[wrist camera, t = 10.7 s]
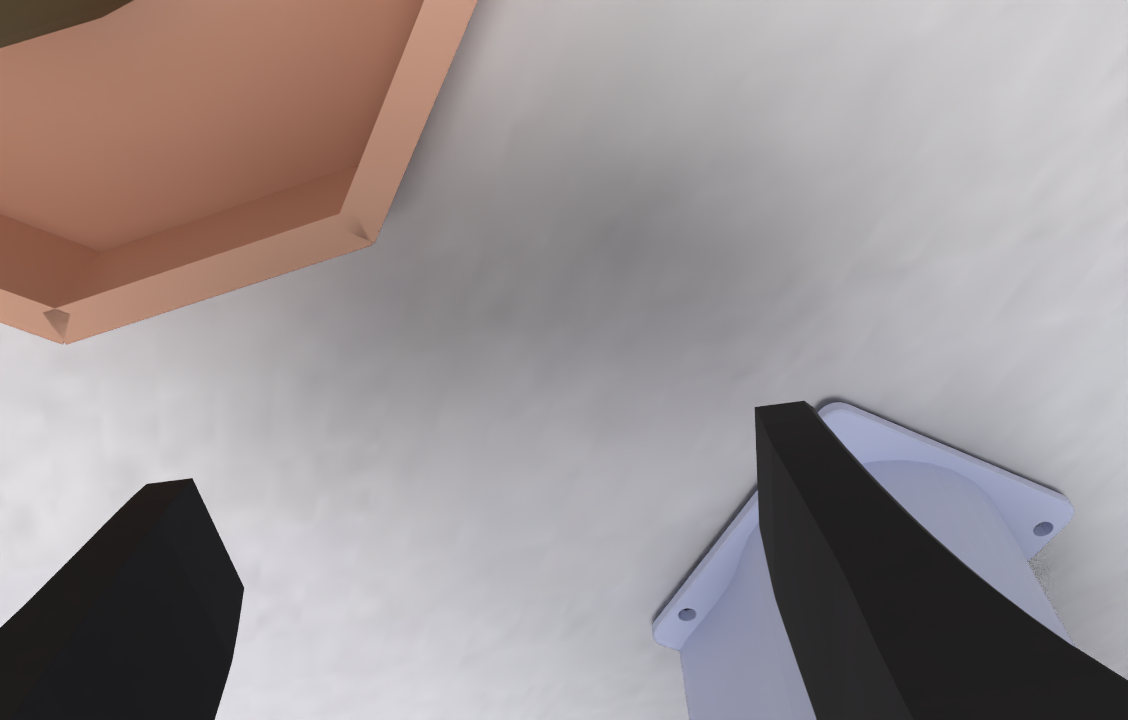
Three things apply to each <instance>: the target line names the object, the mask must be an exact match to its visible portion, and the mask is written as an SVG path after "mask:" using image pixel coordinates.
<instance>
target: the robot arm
mask: <svg viewBox="0 0 1128 720" xmlns="http://www.w3.org/2000/svg"><path fill="white" fill-rule="evenodd" d="M755 427H756V454H757V482H758V490H757V491H756V492H755V493H754V495H753V496H752V497H751V499H750V500H749V501H748V502H747V504H746V505H745V506H744V508H743V509H742V510H741V511H740V513H739V514H738V515H737V516H736V518H735V519H734V520H733V522H732V523H731V524H730V525H729V527H728V528H727V529H726V531H725V532H724V533H723V534H722V536H721V537H720V538H719V539H718V541H717V542H716V543H715V545H714V546H713V547H712V548H711V550H710V551H709V552H708V554H707V555H706V556H705V557H704V559H703V560H702V561H701V562H700V564H699V565H698V566H697V568H696V569H695V570H694V571H693V573H692V574H691V575H690V576H689V578H688V579H687V580H686V582H685V583H684V584H683V585H682V587H681V588H680V589H679V591H678V592H677V593H676V594H675V596H674V597H673V598H672V599H671V601H670V602H669V603H668V605H667V606H666V607H665V608H664V610H663V611H662V612H661V614H660V615H659V616H658V617H657V619H656V620H655V621H654V623H653V625H652V631H653V639H654V640H655V641H656V643H658V644H660V645H662V646H665V647H669V648H672V649H675V650H678V651H680V657H681V664H682V672H683V679H684V686H685V693H686V700H687V708H688V715H689V720H1128V680H1126V679H1125V678H1123V677H1122V676H1120V675H1119V674H1117V673H1115V672H1114V671H1112V670H1111V669H1109V668H1107V667H1106V666H1104V665H1103V664H1101V663H1100V662H1098V661H1096V660H1095V659H1093V658H1092V657H1090V656H1089V655H1087V654H1085V653H1084V652H1082V651H1081V650H1079V649H1078V648H1076V647H1075V645H1074V643H1073V641H1072V640H1071V638H1070V636H1069V634H1068V632H1067V631H1066V629H1065V627H1064V625H1063V624H1062V622H1061V620H1060V618H1059V616H1058V615H1057V613H1056V611H1055V609H1054V608H1053V606H1052V604H1051V602H1050V600H1049V599H1048V597H1047V595H1046V593H1045V592H1044V590H1043V588H1042V586H1041V584H1040V583H1039V581H1038V579H1037V577H1036V576H1035V574H1034V572H1033V570H1032V568H1031V567H1030V565H1029V563H1028V561H1029V560H1030V559H1031V558H1032V557H1033V556H1034V555H1035V554H1036V553H1037V552H1038V551H1039V550H1041V549H1042V548H1043V547H1044V546H1045V545H1046V544H1047V543H1048V542H1049V541H1050V540H1051V539H1052V538H1053V537H1054V536H1055V535H1056V534H1057V533H1058V532H1059V531H1060V530H1061V529H1062V528H1063V527H1064V526H1065V525H1066V524H1067V523H1069V521H1070V520H1071V519H1072V517H1073V516H1074V511H1075V510H1074V508H1073V505H1072V504H1071V502H1070V501H1069V499H1068V498H1067V497H1065V496H1064V495H1062V494H1060V493H1057V492H1055V491H1053V490H1050V489H1048V488H1045V487H1043V486H1041V485H1038V484H1036V483H1034V482H1031V481H1029V480H1027V479H1024V478H1022V477H1019V476H1017V475H1015V474H1012V473H1010V472H1008V471H1005V470H1003V469H1000V468H998V467H996V466H993V465H991V464H989V463H986V462H984V461H982V460H979V459H977V458H974V457H972V456H970V455H967V454H965V453H963V452H960V451H958V450H956V449H953V448H951V447H948V446H946V445H944V444H941V443H939V442H937V441H934V440H932V439H929V438H927V437H925V436H922V435H920V434H918V433H915V432H913V431H911V430H908V429H906V428H903V427H901V426H899V425H896V424H894V423H892V422H889V421H887V420H885V419H882V418H880V417H877V416H875V415H873V414H870V413H868V412H866V411H863V410H861V409H858V408H856V407H854V406H851V405H849V404H846V403H842V402H836V403H831V404H828V405H826V406H824V407H823V408H822V409H821V410H820V411H819V412H818V413H817V412H816V411H815V409H814V408H813V407H812V406H810V405H809V404H808V403H806V402H805V401H800V402H792V403H784V404H776V405H768V406H760V407H755ZM1042 522H1044V523H1043V524H1041V525H1038V524H1039V523H1042ZM1036 525H1038V526H1036ZM243 592H244V587H243V584H242V582H241V580H240V578H239V576H238V574H237V572H236V570H235V568H234V565H233V563H232V561H231V559H230V557H229V555H228V553H227V551H226V549H225V546H224V544H223V542H222V540H221V538H220V536H219V534H218V532H217V530H216V527H215V525H214V523H213V521H212V519H211V517H210V515H209V513H208V511H207V508H206V506H205V504H204V502H203V500H202V498H201V496H200V494H199V492H198V489H197V487H196V485H195V483H194V481H193V479H192V478H191V479H183V480H175V481H167V482H159V483H151V484H146V485H145V486H144V487H143V488H142V489H141V490H140V491H138V492H137V493H136V494H135V495H134V496H133V497H132V498H131V499H130V500H129V501H128V502H127V503H126V504H125V505H124V506H123V507H122V508H120V509H119V510H118V511H117V512H116V513H115V514H114V515H113V516H112V517H111V518H110V519H109V520H108V521H107V522H106V523H105V524H104V525H103V526H102V527H101V529H100V530H99V531H98V532H97V533H96V534H95V535H94V536H93V537H92V538H91V539H90V540H89V541H88V542H87V543H86V544H85V545H84V546H83V547H82V548H81V549H80V550H79V551H78V552H77V553H76V554H75V555H74V556H73V557H72V558H71V559H70V560H69V561H68V562H67V563H66V564H65V565H64V566H63V567H62V568H61V569H60V570H59V571H58V572H57V573H56V574H55V575H54V576H53V577H52V578H51V579H50V580H49V581H48V582H47V583H46V584H45V585H44V586H43V587H42V588H41V589H40V590H39V591H38V592H37V593H36V594H35V595H34V596H33V597H32V598H31V599H30V600H29V601H28V602H27V603H26V604H25V605H24V606H23V607H22V608H21V609H20V610H19V611H18V612H17V613H16V614H14V615H13V616H12V617H11V618H10V619H9V620H8V621H7V622H6V623H5V624H4V625H3V626H2V627H0V720H215V717H216V713H217V710H218V707H219V703H220V700H221V697H222V694H223V690H224V687H225V684H226V680H227V677H228V674H229V670H230V667H231V663H232V659H233V654H234V648H235V643H236V637H237V632H238V626H239V619H240V612H241V606H242V599H243ZM686 608H689V609H690V610H686V611H685V610H682V609H686Z"/></svg>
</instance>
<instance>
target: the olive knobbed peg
mask: <svg viewBox="0 0 1128 720" xmlns="http://www.w3.org/2000/svg"><path fill="white" fill-rule="evenodd" d="M132 1H134V0H0V48H3V47H6V46H10V45H13V44H16V43H20V42H23V41H26V40H30V39H33V38H36V37H40V36H43V35H46V34H49V33H53V32H56V31H59V30H63V29H66V28H69V27H73V26H76V25H79V24H83V23H86V22H89V21H93V20H96V19H99V18H102V17H104V16H106V15H108V14H110V13H111V12H113V11H115V10H117V9H119V8H121V7H122V6H124V5H126V4H128V3H130V2H132Z"/></svg>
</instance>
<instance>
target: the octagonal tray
mask: <svg viewBox="0 0 1128 720" xmlns="http://www.w3.org/2000/svg"><path fill="white" fill-rule="evenodd" d="M477 1H478V0H134V1H132V2H130V3H128V4H126V5H124V6H122V7H121V8H119V9H117V10H115V11H113V12H111V13H110V14H108V15H106V16H104V17H102V18H99V19H96V20H93V21H89V22H86V23H83V24H79V25H76V26H73V27H69V28H66V29H63V30H59V31H56V32H53V33H49V34H46V35H43V36H40V37H36V38H33V39H30V40H26V41H23V42H20V43H16V44H13V45H10V46H6V47H3V48H0V323H3V324H6V325H9V326H12V327H14V328H17V329H20V330H23V331H26V332H29V333H31V334H34V335H37V336H40V337H43V338H46V339H48V340H51V341H54V342H57V343H60V344H63V343H64V342H65V344H66V345H67V344H70V343H73V342H76V341H79V340H82V339H85V338H88V337H91V336H94V335H98V334H101V333H104V332H107V331H110V330H113V329H116V328H119V327H122V326H125V325H128V324H131V323H134V322H138V321H141V320H144V319H147V318H150V317H153V316H156V315H159V314H162V313H165V312H168V311H171V310H174V309H178V308H181V307H184V306H187V305H190V304H193V303H196V302H199V301H202V300H205V299H208V298H211V297H214V296H218V295H221V294H224V293H227V292H230V291H233V290H236V289H239V288H242V287H245V286H248V285H251V284H254V283H258V282H261V281H264V280H267V279H270V278H273V277H276V276H279V275H282V274H285V273H288V272H291V271H294V270H298V269H301V268H304V267H307V266H310V265H313V264H316V263H319V262H322V261H325V260H328V259H331V258H334V257H338V256H341V255H344V254H347V253H350V252H353V251H356V250H359V249H362V248H365V247H368V246H371V245H372V244H373V243H375V241H376V239H377V236H378V234H379V232H380V229H381V227H382V225H383V222H384V220H385V218H386V215H387V213H388V210H389V208H390V206H391V203H392V201H393V199H394V196H395V194H396V192H397V189H398V187H399V185H400V182H401V180H402V178H403V175H404V173H405V171H406V168H407V166H408V163H409V161H410V159H411V156H412V154H413V152H414V149H415V147H416V145H417V142H418V140H419V138H420V135H421V133H422V131H423V128H424V126H425V123H426V121H427V119H428V116H429V114H430V112H431V109H432V107H433V105H434V102H435V100H436V98H437V95H438V93H439V91H440V88H441V86H442V83H443V81H444V79H445V76H446V74H447V72H448V69H449V67H450V65H451V62H452V60H453V58H454V55H455V53H456V51H457V48H458V46H459V44H460V41H461V39H462V36H463V34H464V32H465V29H466V27H467V25H468V22H469V20H470V18H471V15H472V13H473V11H474V8H475V6H476V4H477Z"/></svg>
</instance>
